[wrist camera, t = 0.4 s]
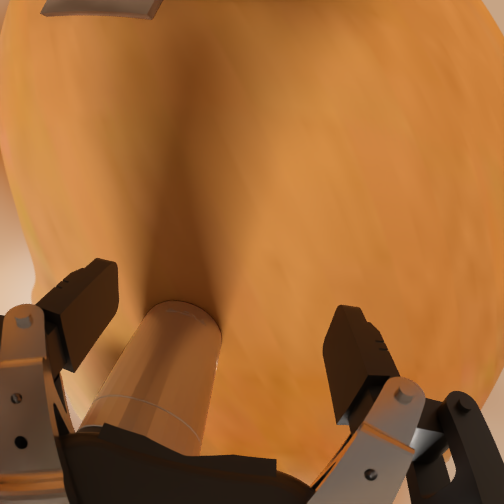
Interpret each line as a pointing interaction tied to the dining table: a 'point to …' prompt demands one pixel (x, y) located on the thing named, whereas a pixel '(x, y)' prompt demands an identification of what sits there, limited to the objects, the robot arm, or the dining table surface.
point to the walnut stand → (102, 8)
